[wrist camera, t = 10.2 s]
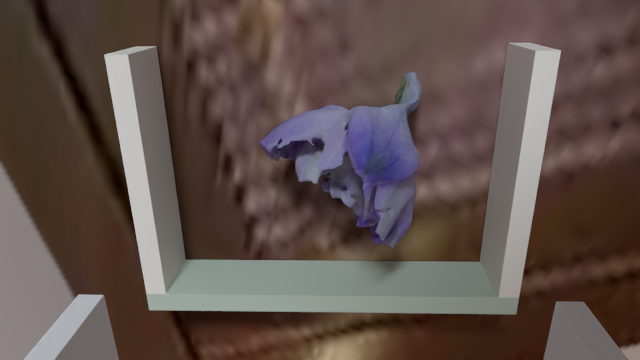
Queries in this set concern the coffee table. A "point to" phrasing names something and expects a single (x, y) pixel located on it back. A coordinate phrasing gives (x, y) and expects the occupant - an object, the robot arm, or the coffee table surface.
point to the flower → (358, 158)
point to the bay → (334, 276)
